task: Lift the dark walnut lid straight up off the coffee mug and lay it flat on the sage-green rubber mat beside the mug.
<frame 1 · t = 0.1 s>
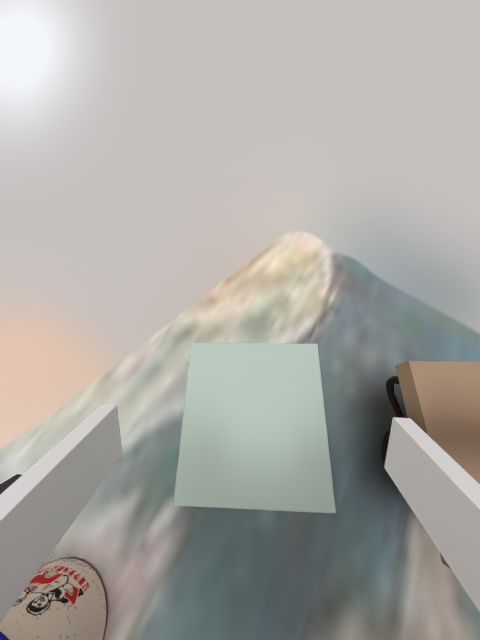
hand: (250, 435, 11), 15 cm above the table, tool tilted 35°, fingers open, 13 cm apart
teacup with lid: (43, 623, 20), on the table
sage mat: (253, 416, 26), on the table
coffee mug: (407, 440, 24), on the table, touching walnut lid
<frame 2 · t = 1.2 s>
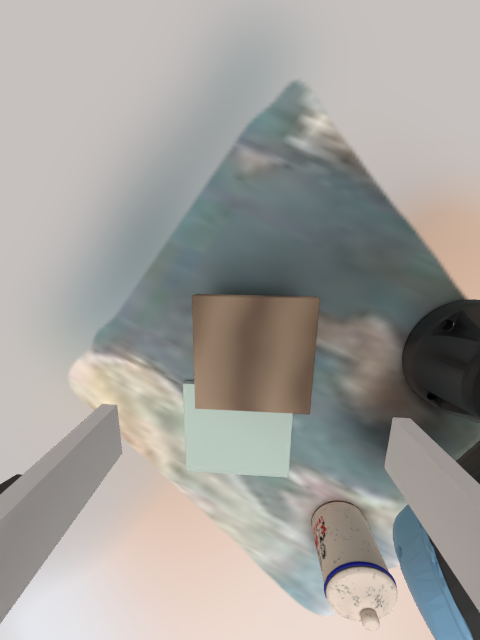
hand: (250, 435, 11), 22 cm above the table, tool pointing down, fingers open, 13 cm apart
teacup with lid: (337, 527, 39), on the table
sage mat: (237, 427, 36), on the table
walnut lid: (253, 351, 23), point 10 cm above the table, touching coffee mug
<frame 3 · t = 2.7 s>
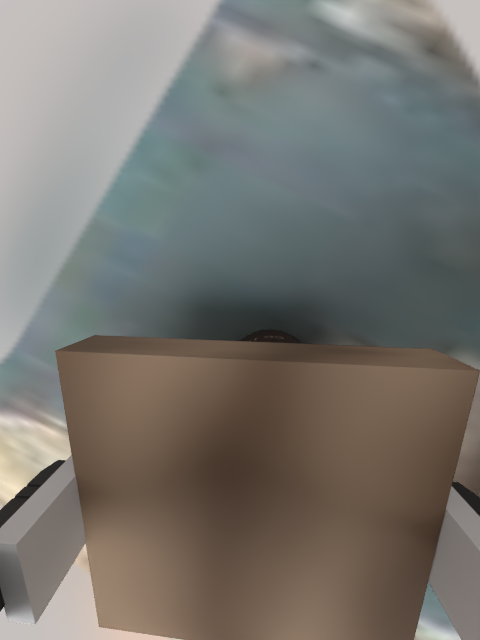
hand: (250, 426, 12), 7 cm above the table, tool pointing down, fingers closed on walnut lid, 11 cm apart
coffee mug: (250, 369, 19), on the table, touching gripper, walnut lid
walnut lid: (249, 481, 9), point 10 cm above the table, touching coffee mug, gripper
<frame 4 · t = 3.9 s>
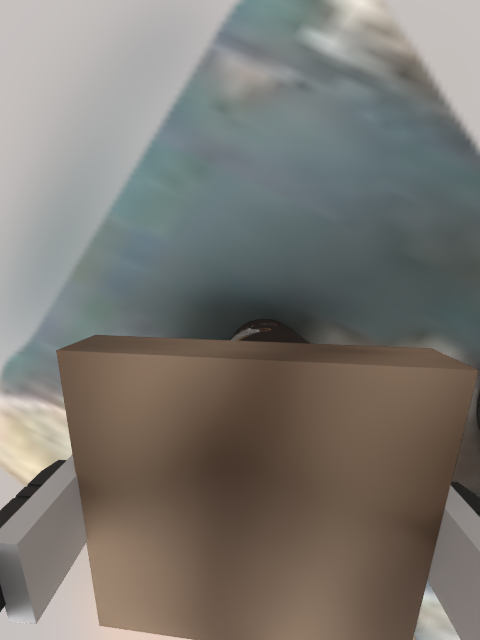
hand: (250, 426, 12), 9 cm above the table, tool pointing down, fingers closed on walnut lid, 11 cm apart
coffee mug: (247, 355, 21), on the table
walnut lid: (249, 480, 9), point 12 cm above the table, touching gripper
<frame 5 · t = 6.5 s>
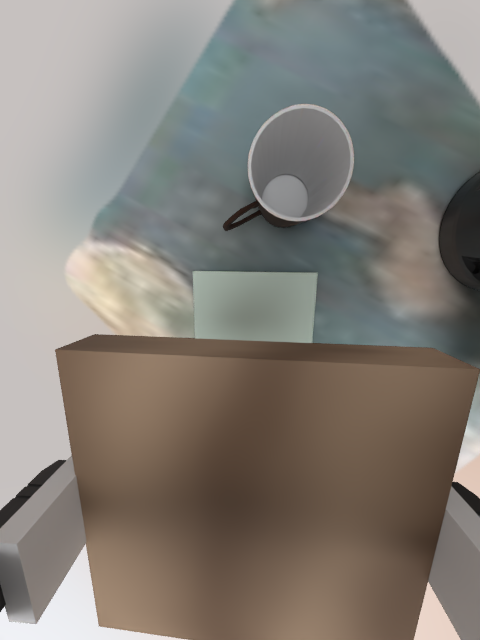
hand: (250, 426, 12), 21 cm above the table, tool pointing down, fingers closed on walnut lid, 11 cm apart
sage mat: (252, 326, 33), on the table
coffee mug: (272, 202, 29), on the table
walnut lid: (249, 480, 9), point 24 cm above the table, touching gripper
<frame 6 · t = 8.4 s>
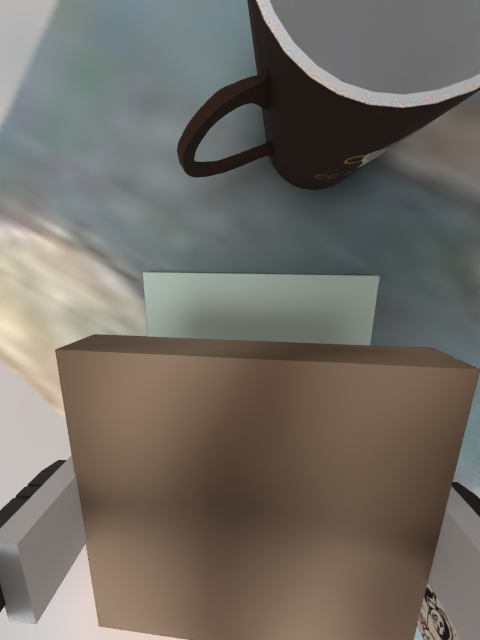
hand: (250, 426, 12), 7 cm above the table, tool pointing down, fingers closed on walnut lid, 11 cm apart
teacup with lid: (435, 560, 21), on the table
sage mat: (254, 370, 18), on the table
coffee mug: (292, 140, 15), on the table
walnut lid: (249, 481, 9), point 10 cm above the table, touching gripper
when the fingers open (4 cm above the table, at t = 10.1 s): walnut lid drops 6 cm, resting on sage mat.
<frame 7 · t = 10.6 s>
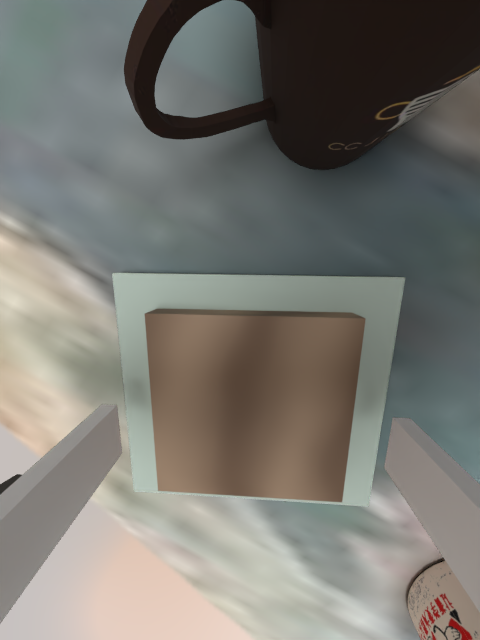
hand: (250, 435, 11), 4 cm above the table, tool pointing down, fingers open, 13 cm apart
teacup with lid: (460, 606, 19), on the table
sage mat: (250, 391, 15), on the table
coffee mug: (297, 107, 12), on the table
walnut lid: (250, 398, 14), point 1 cm above the table, touching sage mat
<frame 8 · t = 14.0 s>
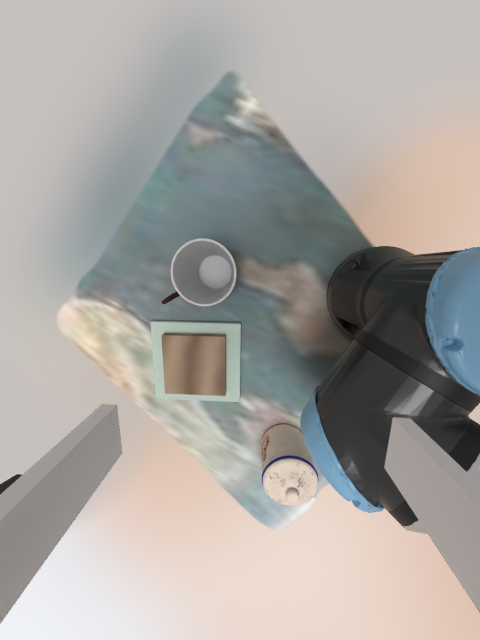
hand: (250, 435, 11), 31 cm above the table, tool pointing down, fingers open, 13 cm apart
teacup with lid: (284, 448, 47), on the table
sage mat: (197, 360, 44), on the table
coffee mug: (207, 273, 40), on the table
walnut lid: (196, 362, 43), point 1 cm above the table, touching sage mat
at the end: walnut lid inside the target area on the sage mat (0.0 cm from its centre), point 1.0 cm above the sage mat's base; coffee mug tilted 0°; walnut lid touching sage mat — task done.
